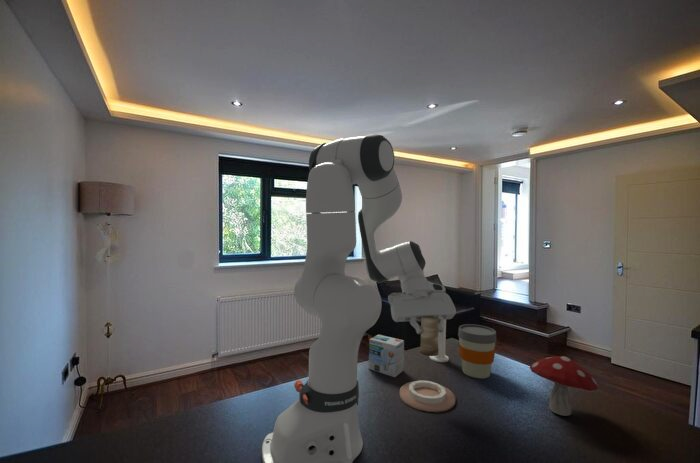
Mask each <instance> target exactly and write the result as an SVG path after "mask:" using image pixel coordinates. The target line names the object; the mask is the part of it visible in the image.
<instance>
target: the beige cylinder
mask: <svg viewBox="0 0 700 463" xmlns="http://www.w3.org/2000/svg"><path fill="white" fill-rule="evenodd" d="M420 326H422V327H423V330H424V332H423V333H422V334H420V347H419V350H420V351H419V352H420V354H421V355H423V356H427V357H430V356H437V355H438V331H439V319H438V318H435V317H428V316H427V317H422V318H421V321H420Z"/></svg>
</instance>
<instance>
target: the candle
mask: <svg viewBox="0 0 700 463" xmlns="http://www.w3.org/2000/svg"><path fill="white" fill-rule="evenodd" d="M442 326H443V329H444V330H443V332H442V333H438V355H437V356H429V359H430V360H431V361H433V362H436V363H447V362H449V360H450V359H449V356H447V355H446V343H447V342H446V339H447V338H446V336H447V334H446V333H447V319H443V323H442Z"/></svg>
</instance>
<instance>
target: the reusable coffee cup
mask: <svg viewBox="0 0 700 463" xmlns="http://www.w3.org/2000/svg"><path fill="white" fill-rule="evenodd" d="M457 337H458V340H459V342H458V351H459V357H460V360H461V370H462V372H463V373H464V374H465V375H466V376H469V377H471V378H476V379H487V378H489V377H490V375H491V370H492V365H493V363H494V360H495V355H496V354H495V353H496V342H497V340H498V339H497V331H496V330H495V329H494V328H492V327H489V326H485V325H482V324H481V325H480V324H471V323H470V324H469V323H466V324H462V325H459V327H458V333H457Z"/></svg>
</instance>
